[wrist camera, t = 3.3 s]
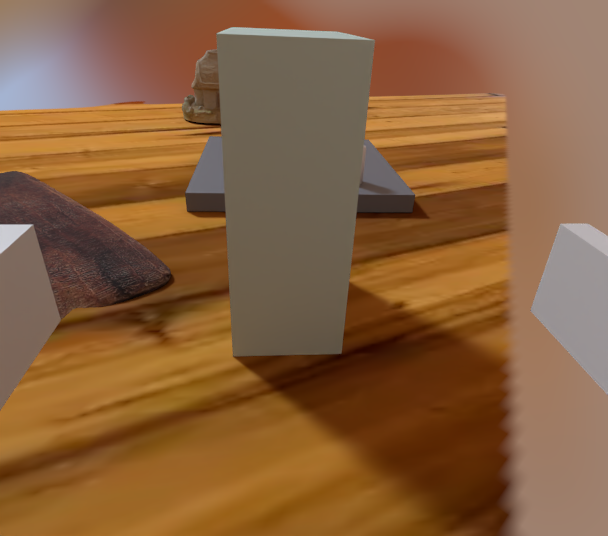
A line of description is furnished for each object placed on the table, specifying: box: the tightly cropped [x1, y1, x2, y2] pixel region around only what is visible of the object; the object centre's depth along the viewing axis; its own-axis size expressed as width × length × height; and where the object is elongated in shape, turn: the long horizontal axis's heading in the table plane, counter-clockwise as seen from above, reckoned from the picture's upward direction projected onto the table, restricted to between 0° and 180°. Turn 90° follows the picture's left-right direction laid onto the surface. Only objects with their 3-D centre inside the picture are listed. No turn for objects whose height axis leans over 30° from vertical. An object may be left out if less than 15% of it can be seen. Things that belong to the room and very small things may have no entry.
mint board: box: [216, 27, 375, 356], centre depth 21 cm, size 5×8×13 cm, turn 5°
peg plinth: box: [185, 137, 415, 212], centre depth 42 cm, size 18×18×4 cm
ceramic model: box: [182, 50, 221, 124], centre depth 63 cm, size 14×11×10 cm
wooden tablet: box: [0, 171, 171, 319], centre depth 30 cm, size 26×2×10 cm
